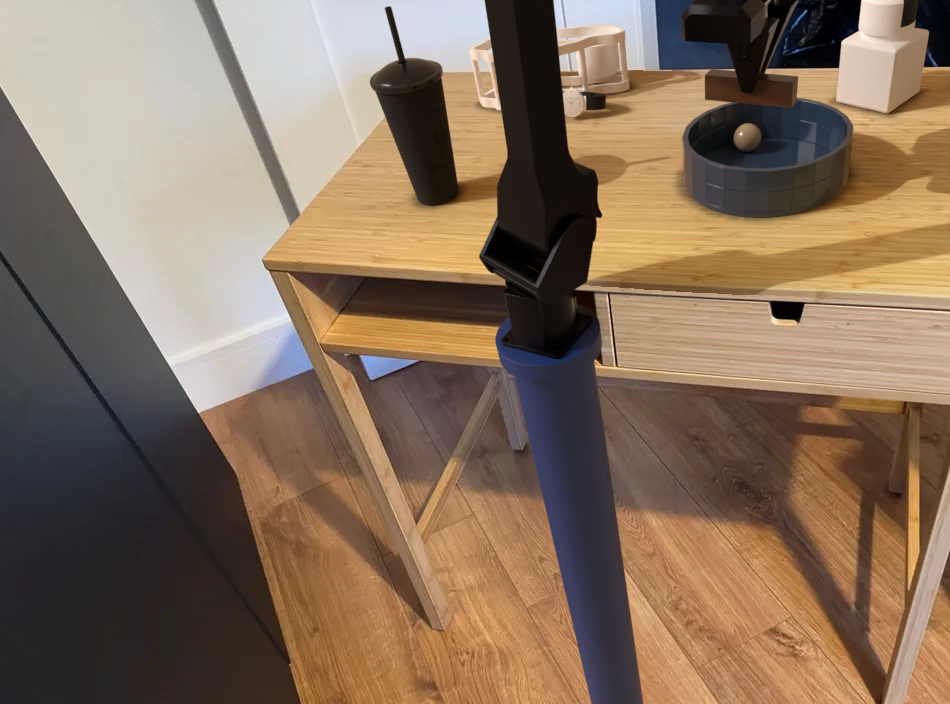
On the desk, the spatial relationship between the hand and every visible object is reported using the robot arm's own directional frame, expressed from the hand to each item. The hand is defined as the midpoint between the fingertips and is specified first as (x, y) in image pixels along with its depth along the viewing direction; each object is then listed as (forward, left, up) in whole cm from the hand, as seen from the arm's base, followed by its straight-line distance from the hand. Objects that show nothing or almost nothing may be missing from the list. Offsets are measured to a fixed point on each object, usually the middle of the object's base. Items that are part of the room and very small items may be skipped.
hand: (750, 88), depth 79 cm
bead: (+7, +3, -9) cm, 12 cm away
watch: (+13, +28, -9) cm, 32 cm away
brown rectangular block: (0, 0, -1) cm, 1 cm away
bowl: (+3, -1, -11) cm, 11 cm away
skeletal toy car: (+18, +34, -11) cm, 41 cm away
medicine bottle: (+25, -7, -11) cm, 28 cm away
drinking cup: (-11, +33, -11) cm, 37 cm away
